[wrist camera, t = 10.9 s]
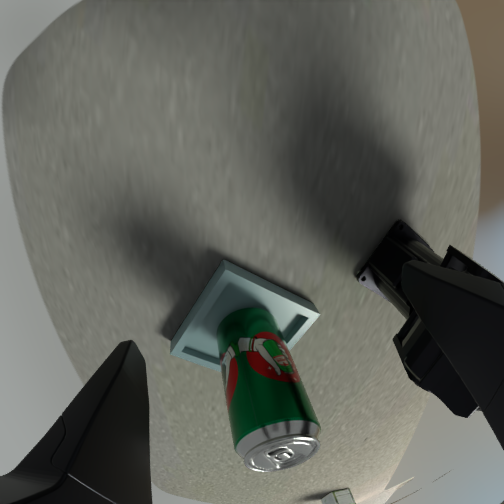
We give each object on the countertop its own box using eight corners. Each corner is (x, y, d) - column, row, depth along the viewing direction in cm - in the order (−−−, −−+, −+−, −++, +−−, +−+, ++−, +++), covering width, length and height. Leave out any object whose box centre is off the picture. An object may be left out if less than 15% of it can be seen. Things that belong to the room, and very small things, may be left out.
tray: (313, 303, 26) (320, 314, 24) (256, 371, 28) (259, 383, 27) (223, 259, 22) (225, 269, 21) (170, 341, 25) (170, 354, 23)
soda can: (236, 359, 26) (264, 480, 15) (203, 323, 24) (219, 459, 13) (286, 332, 25) (337, 450, 15) (258, 292, 23) (308, 423, 12)
